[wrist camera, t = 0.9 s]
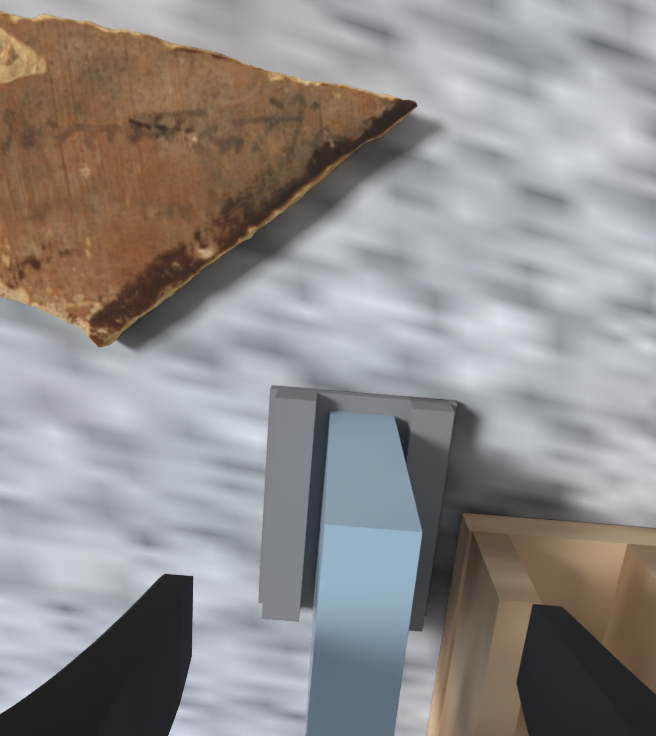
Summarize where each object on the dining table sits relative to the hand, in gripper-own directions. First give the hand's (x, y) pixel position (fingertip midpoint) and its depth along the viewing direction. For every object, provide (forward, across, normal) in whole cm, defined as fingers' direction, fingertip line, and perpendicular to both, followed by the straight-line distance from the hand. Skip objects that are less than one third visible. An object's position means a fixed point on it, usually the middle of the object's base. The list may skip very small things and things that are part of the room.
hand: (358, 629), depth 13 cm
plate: (+5, 0, 0) cm, 5 cm away
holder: (+6, 0, 0) cm, 6 cm away
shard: (+6, +6, -10) cm, 13 cm away
